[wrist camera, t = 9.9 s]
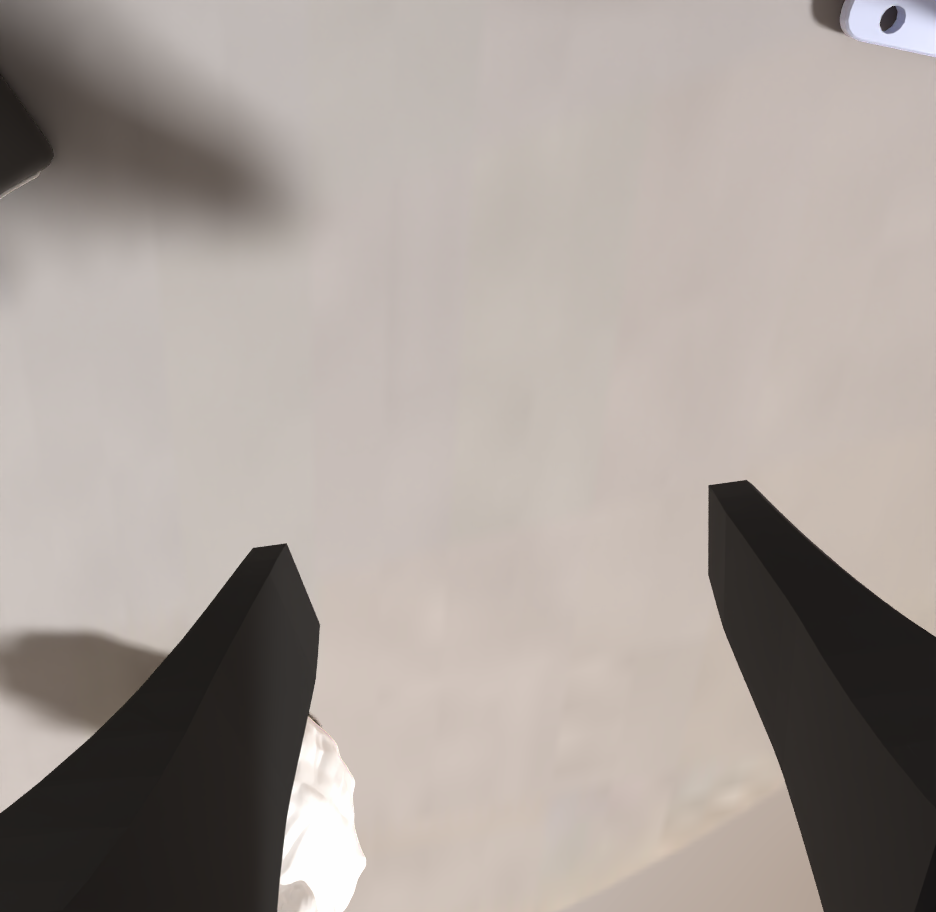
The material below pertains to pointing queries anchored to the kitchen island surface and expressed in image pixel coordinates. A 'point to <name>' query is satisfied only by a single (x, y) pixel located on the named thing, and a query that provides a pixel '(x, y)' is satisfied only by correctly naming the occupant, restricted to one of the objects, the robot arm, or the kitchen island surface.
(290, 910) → the bust
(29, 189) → the kitchen island surface
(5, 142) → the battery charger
